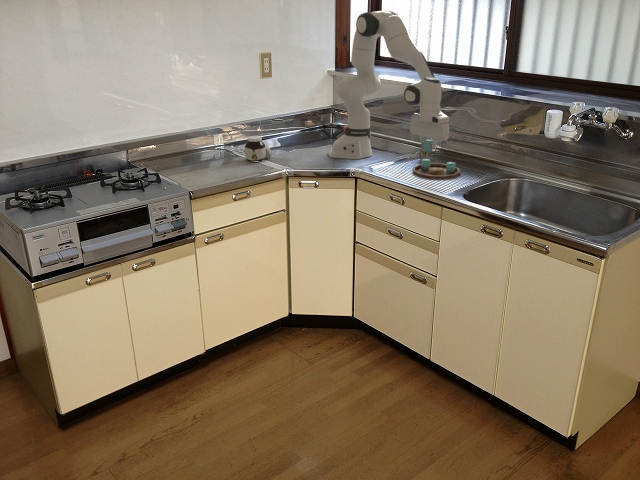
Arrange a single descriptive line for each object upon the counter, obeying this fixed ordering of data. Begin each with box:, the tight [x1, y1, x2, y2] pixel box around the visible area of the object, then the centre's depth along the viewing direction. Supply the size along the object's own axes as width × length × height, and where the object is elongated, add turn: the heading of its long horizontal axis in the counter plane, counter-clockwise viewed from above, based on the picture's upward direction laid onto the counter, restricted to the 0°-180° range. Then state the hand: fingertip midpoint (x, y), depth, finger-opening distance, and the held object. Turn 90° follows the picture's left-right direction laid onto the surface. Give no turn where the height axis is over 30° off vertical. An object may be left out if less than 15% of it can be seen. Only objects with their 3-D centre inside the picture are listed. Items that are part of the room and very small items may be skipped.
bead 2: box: [420, 158, 431, 171], centre depth 289 cm, size 4×4×4 cm
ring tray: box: [412, 162, 461, 180], centre depth 285 cm, size 21×21×2 cm
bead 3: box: [446, 161, 457, 174], centre depth 284 cm, size 4×4×4 cm
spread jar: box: [244, 135, 273, 162], centre depth 309 cm, size 12×11×12 cm
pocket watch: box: [418, 146, 436, 163], centre depth 302 cm, size 8×8×10 cm
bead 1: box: [423, 139, 433, 153], centre depth 276 cm, size 4×4×4 cm
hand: (428, 147), depth 276 cm, fingers closed on bead 1, 4 cm apart
